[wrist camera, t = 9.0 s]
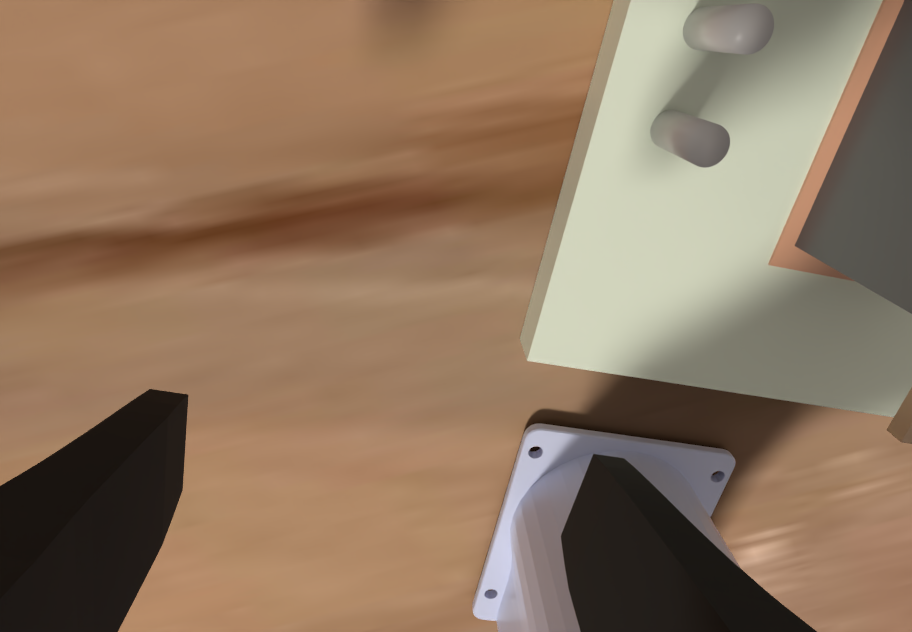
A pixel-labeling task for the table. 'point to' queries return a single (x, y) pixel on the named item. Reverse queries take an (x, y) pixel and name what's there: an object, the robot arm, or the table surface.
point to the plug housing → (873, 191)
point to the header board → (718, 208)
